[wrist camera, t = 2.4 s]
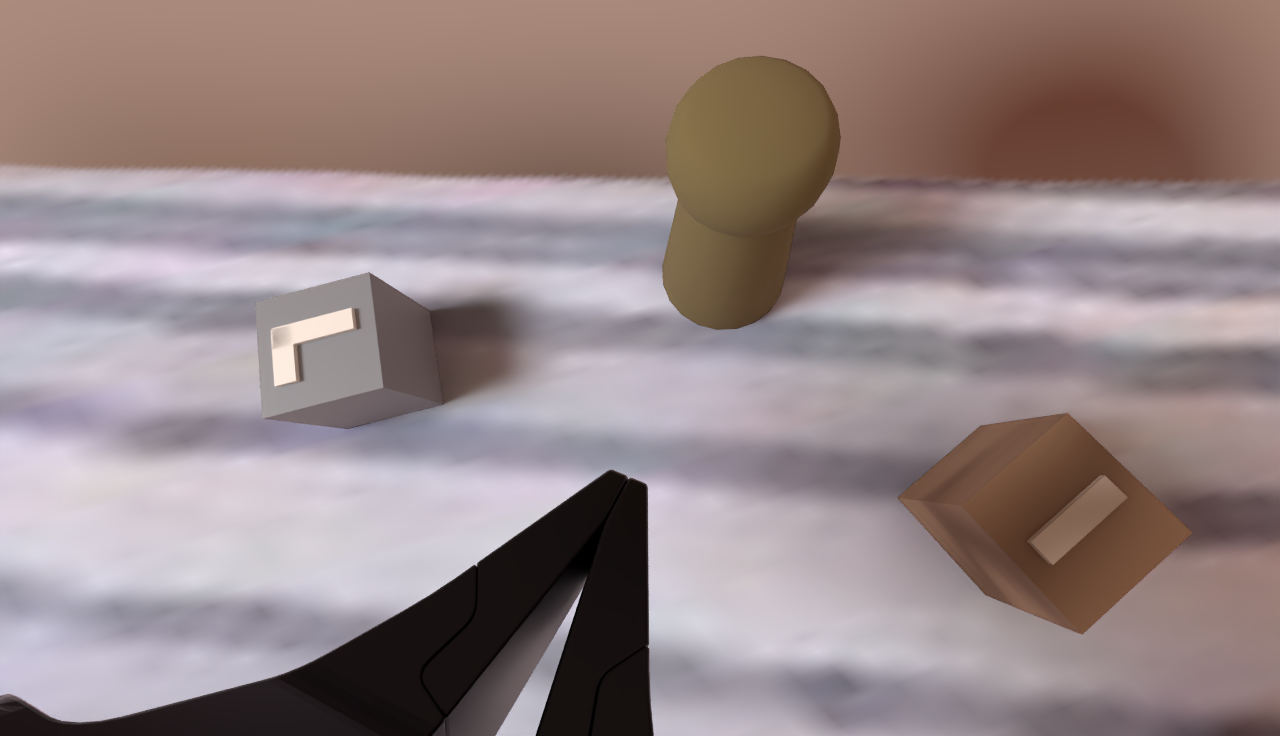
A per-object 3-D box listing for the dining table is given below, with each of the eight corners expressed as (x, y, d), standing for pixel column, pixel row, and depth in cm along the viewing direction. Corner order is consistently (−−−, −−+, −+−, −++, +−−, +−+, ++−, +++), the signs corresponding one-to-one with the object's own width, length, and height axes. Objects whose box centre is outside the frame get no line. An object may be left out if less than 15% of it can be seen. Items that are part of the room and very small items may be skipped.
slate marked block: (444, 404, 24) (380, 386, 19) (347, 429, 24) (258, 418, 19) (430, 311, 25) (366, 270, 20) (338, 335, 25) (251, 300, 20)
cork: (743, 196, 25) (793, -16, 14) (808, 292, 23) (920, 139, 13) (640, 251, 24) (610, 80, 14) (700, 351, 23) (719, 248, 12)
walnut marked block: (1070, 517, 20) (1199, 533, 15) (983, 594, 20) (1087, 636, 15) (979, 425, 21) (1072, 412, 16) (896, 497, 21) (965, 506, 16)
